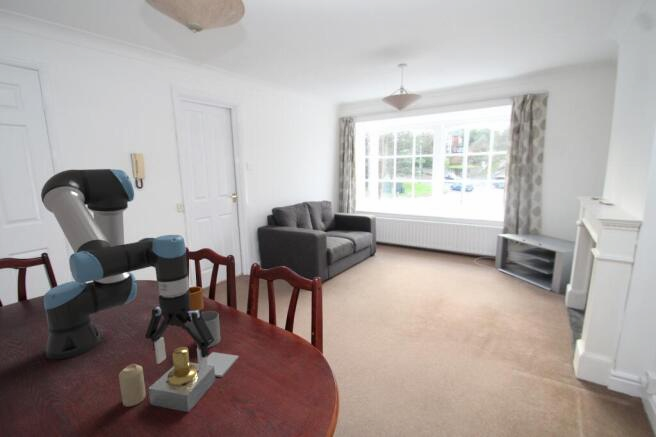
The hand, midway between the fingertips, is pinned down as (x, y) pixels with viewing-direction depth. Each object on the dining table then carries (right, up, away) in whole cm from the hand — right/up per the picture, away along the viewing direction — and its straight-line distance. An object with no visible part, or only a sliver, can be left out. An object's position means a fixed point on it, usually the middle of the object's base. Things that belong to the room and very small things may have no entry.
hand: (182, 363), depth 85 cm
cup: (-3, -5, +27) cm, 28 cm away
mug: (-22, -1, +55) cm, 59 cm away
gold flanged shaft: (0, -9, +2) cm, 9 cm away
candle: (-13, -10, -1) cm, 16 cm away
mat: (+5, -7, +14) cm, 16 cm away
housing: (0, -9, +2) cm, 9 cm away
